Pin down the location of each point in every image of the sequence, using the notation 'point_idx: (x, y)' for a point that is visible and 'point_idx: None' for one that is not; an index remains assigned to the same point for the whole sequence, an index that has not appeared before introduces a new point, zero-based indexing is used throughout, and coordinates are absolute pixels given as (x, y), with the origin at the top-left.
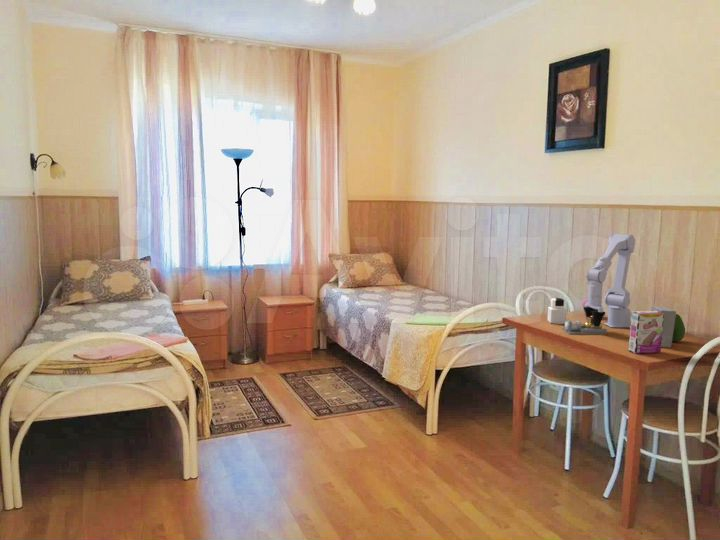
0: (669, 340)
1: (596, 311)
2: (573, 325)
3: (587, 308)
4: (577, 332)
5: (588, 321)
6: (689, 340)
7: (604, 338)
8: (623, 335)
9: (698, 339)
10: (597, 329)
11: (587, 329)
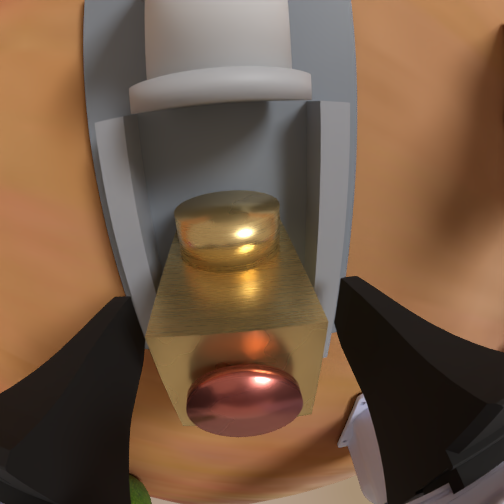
0: None
1: (21, 490)
2: (145, 5)
3: (459, 442)
4: (110, 69)
5: (250, 281)
6: (155, 491)
7: (20, 281)
8: (156, 406)
9: (176, 499)
10: (136, 303)
11: (107, 193)
